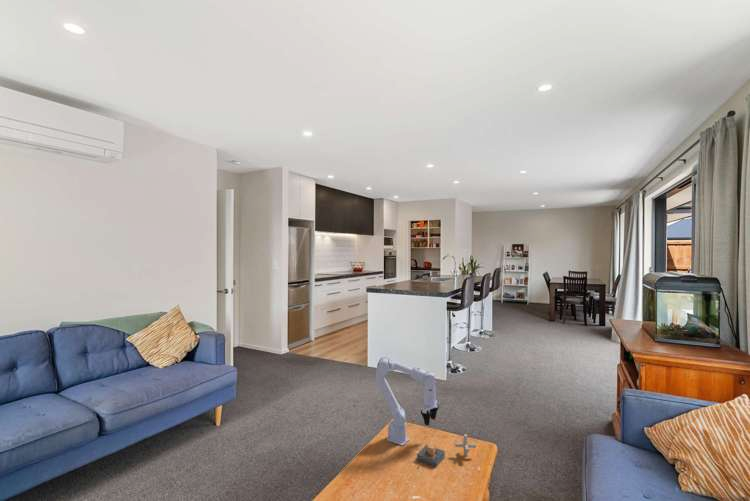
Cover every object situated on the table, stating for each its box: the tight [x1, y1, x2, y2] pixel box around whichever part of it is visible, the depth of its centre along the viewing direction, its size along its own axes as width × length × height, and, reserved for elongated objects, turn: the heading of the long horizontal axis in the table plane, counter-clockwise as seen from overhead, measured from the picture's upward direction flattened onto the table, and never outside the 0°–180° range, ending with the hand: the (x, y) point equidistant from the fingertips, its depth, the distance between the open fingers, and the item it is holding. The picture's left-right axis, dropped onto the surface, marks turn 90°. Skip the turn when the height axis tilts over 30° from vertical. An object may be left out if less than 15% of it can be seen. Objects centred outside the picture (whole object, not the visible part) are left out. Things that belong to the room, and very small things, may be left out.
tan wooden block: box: [427, 443, 437, 456], centre depth 171 cm, size 3×3×6 cm
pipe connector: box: [454, 433, 477, 458], centre depth 174 cm, size 10×10×10 cm
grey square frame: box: [416, 444, 446, 468], centre depth 171 cm, size 10×10×3 cm
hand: (430, 421), depth 187 cm, fingers open, 7 cm apart
